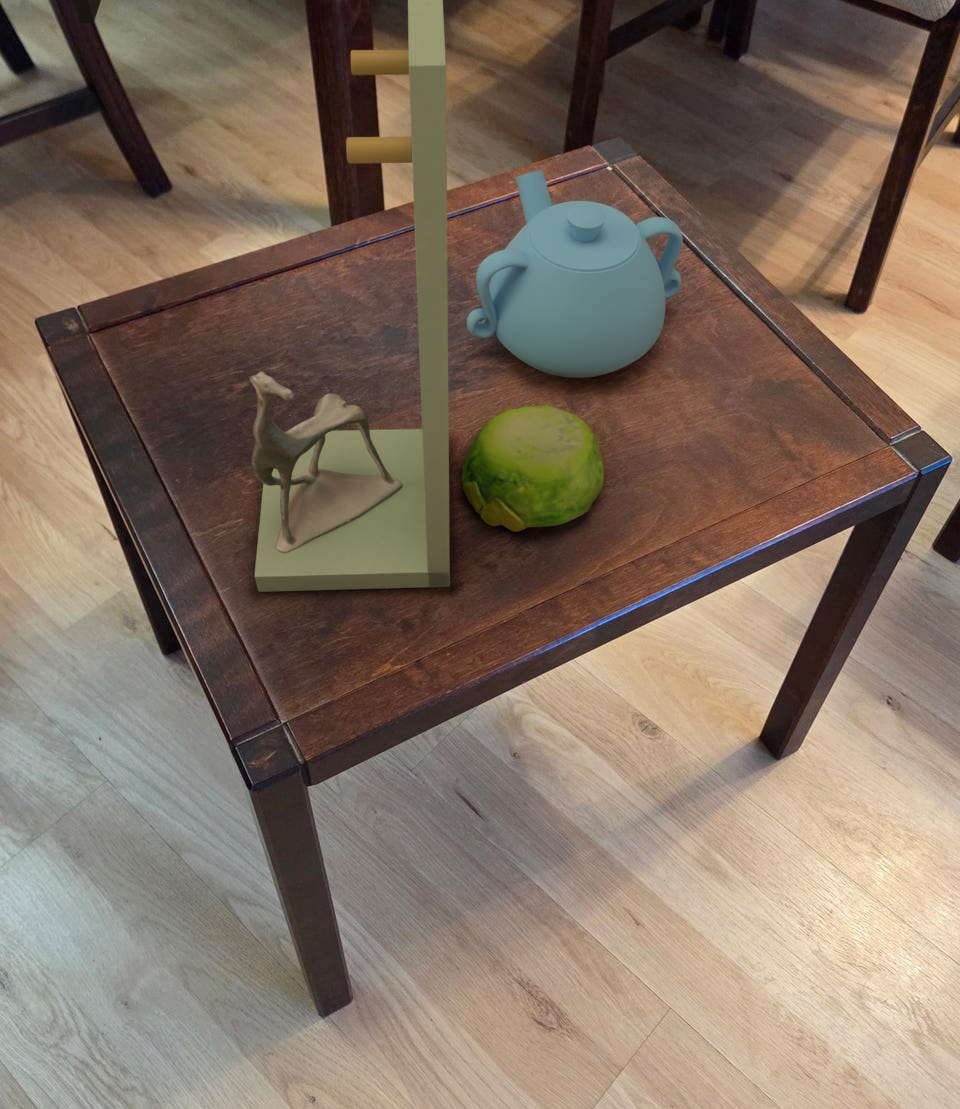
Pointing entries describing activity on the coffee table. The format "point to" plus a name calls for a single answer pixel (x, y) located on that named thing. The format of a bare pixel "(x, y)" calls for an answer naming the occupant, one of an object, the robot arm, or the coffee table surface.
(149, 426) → the coffee table surface
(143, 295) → the coffee table surface
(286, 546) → the figurine
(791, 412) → the coffee table surface
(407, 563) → the rack
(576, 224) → the teapot
